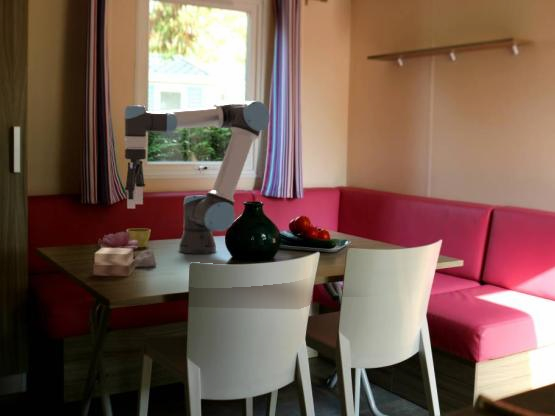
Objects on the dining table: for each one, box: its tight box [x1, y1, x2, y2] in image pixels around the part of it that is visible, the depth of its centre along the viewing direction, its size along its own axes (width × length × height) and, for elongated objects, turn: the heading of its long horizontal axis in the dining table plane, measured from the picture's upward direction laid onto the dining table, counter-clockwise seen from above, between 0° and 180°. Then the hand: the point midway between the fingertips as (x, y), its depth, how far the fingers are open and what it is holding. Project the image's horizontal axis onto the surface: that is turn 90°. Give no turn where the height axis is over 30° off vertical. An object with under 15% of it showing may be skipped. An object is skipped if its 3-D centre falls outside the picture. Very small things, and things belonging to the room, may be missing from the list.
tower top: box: [94, 248, 134, 266], centre depth 253 cm, size 11×11×4 cm
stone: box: [134, 248, 157, 268], centre depth 267 cm, size 8×10×6 cm
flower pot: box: [125, 227, 151, 249], centre depth 306 cm, size 10×10×7 cm
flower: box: [97, 231, 138, 252], centre depth 283 cm, size 15×15×10 cm
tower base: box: [92, 258, 136, 277], centre depth 254 cm, size 12×12×4 cm
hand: (135, 206), depth 267 cm, fingers open, 13 cm apart
